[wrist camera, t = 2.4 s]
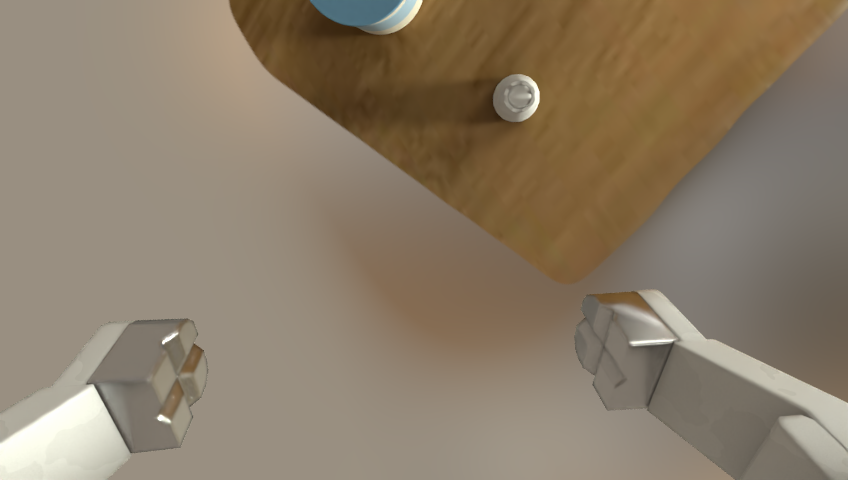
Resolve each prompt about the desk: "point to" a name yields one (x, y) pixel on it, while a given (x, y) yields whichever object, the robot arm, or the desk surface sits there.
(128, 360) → the robot arm
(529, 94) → the rook chess piece
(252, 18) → the desk surface
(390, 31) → the yogurt tub
